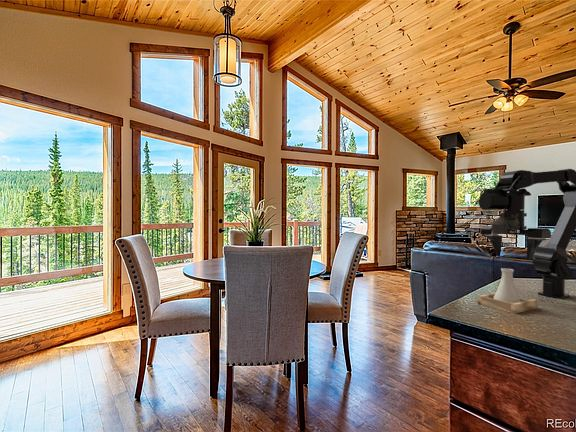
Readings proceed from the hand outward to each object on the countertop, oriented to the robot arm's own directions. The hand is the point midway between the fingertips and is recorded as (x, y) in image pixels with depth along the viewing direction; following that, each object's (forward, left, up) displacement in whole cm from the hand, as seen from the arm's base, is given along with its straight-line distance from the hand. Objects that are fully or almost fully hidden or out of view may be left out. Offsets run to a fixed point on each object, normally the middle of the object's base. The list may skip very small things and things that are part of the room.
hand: (513, 258), depth 107 cm
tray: (+12, +5, -12) cm, 18 cm away
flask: (+12, +5, -12) cm, 17 cm away
